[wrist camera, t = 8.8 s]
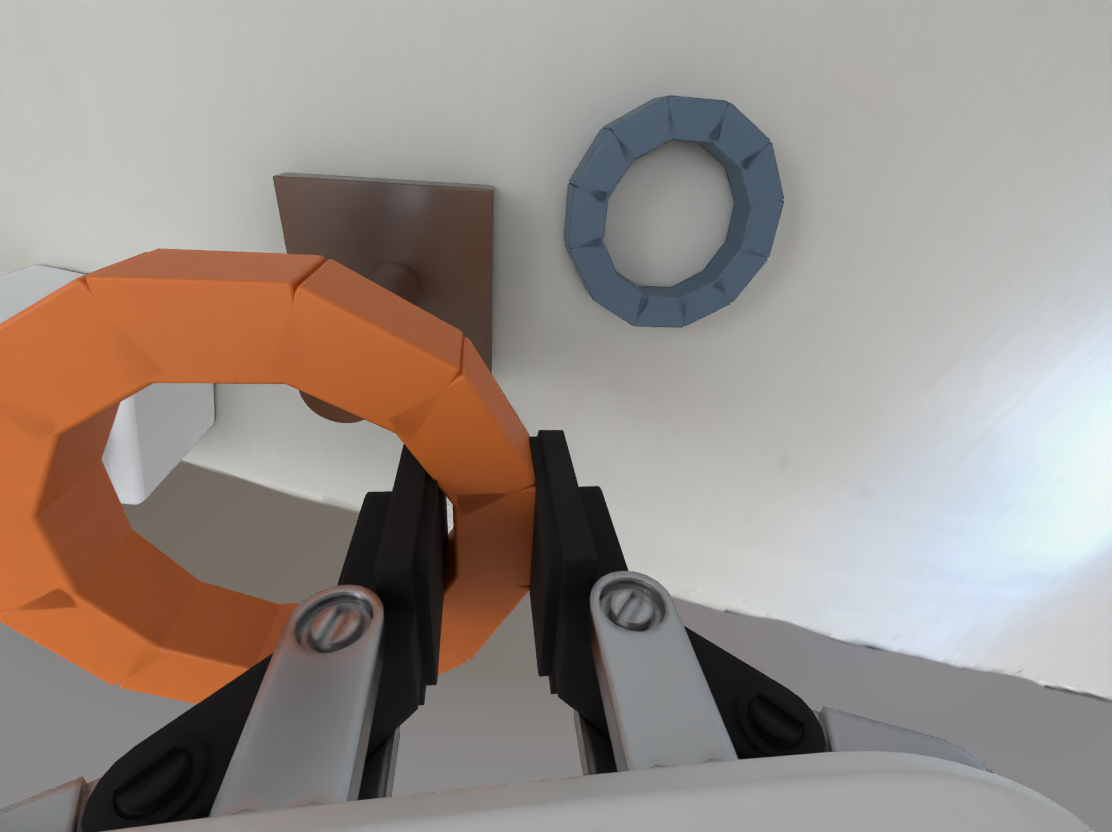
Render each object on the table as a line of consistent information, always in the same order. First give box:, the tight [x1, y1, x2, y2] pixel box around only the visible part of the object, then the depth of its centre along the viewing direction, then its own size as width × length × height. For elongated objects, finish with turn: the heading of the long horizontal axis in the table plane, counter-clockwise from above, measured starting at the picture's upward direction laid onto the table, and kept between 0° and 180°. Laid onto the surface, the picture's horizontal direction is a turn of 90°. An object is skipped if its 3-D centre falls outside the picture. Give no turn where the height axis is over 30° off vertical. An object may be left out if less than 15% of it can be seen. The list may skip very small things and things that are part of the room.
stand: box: [273, 173, 493, 423], centre depth 20 cm, size 9×9×12 cm
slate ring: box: [564, 96, 784, 327], centre depth 24 cm, size 10×10×2 cm
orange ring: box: [0, 249, 536, 704], centre depth 10 cm, size 10×10×2 cm
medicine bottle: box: [0, 265, 215, 505], centre depth 20 cm, size 7×7×12 cm
